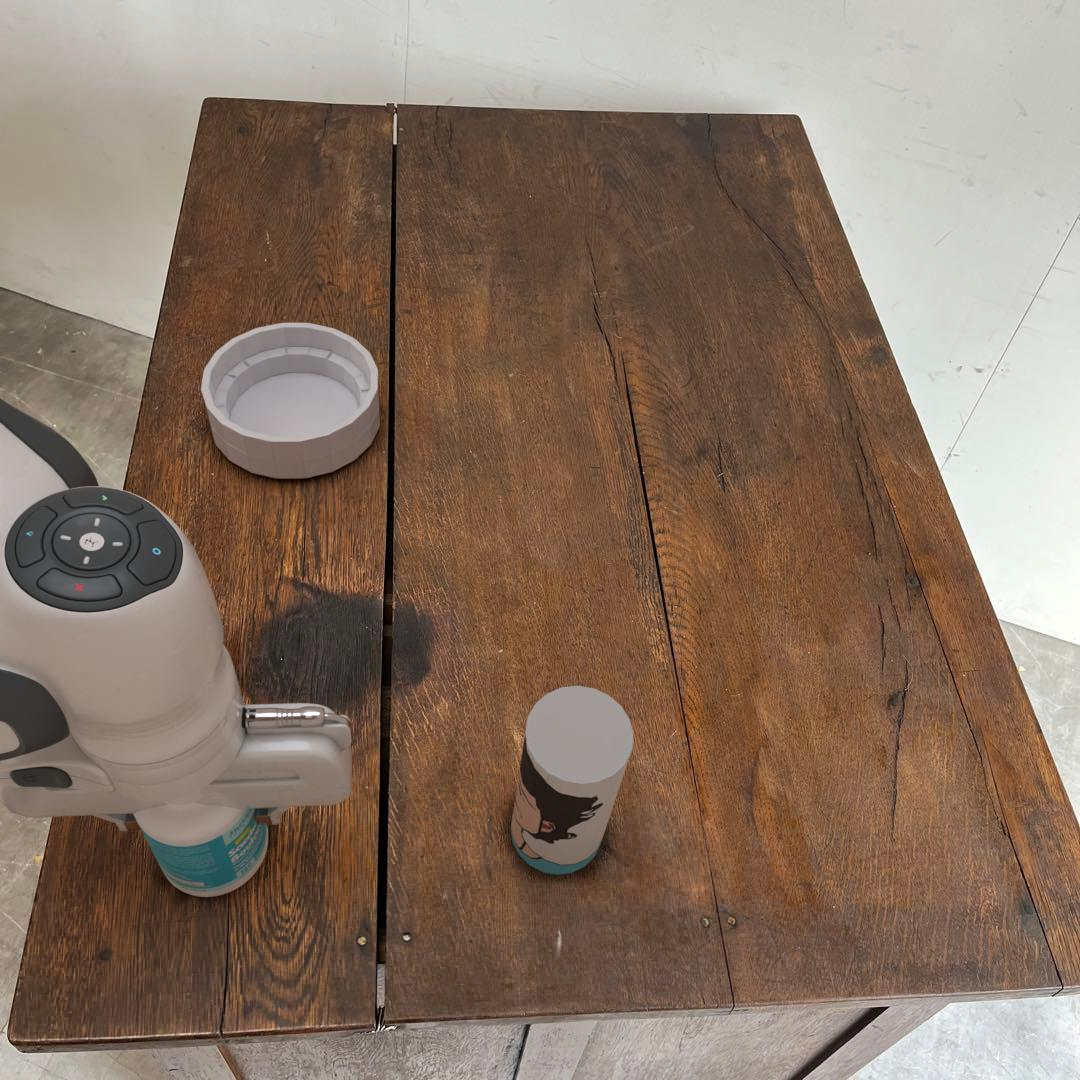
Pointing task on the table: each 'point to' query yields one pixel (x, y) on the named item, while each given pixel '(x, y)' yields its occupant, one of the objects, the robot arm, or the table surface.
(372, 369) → the faceted round dish
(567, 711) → the printed label cylinder
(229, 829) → the pill bottle
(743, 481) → the table surface
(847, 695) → the table surface
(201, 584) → the robot arm
